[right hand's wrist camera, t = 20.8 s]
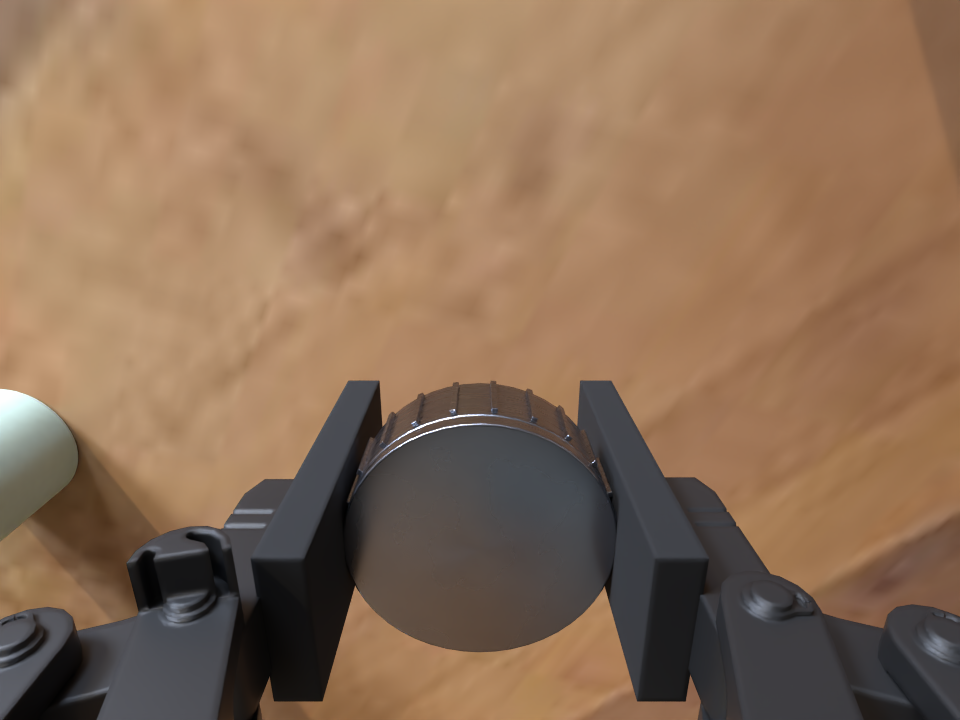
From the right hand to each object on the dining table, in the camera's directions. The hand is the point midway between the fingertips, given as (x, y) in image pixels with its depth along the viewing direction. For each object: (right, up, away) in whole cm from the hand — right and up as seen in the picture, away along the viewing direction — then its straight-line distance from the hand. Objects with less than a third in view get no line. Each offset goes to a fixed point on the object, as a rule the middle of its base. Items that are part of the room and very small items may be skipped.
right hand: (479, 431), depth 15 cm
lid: (0, -1, -4) cm, 4 cm away
